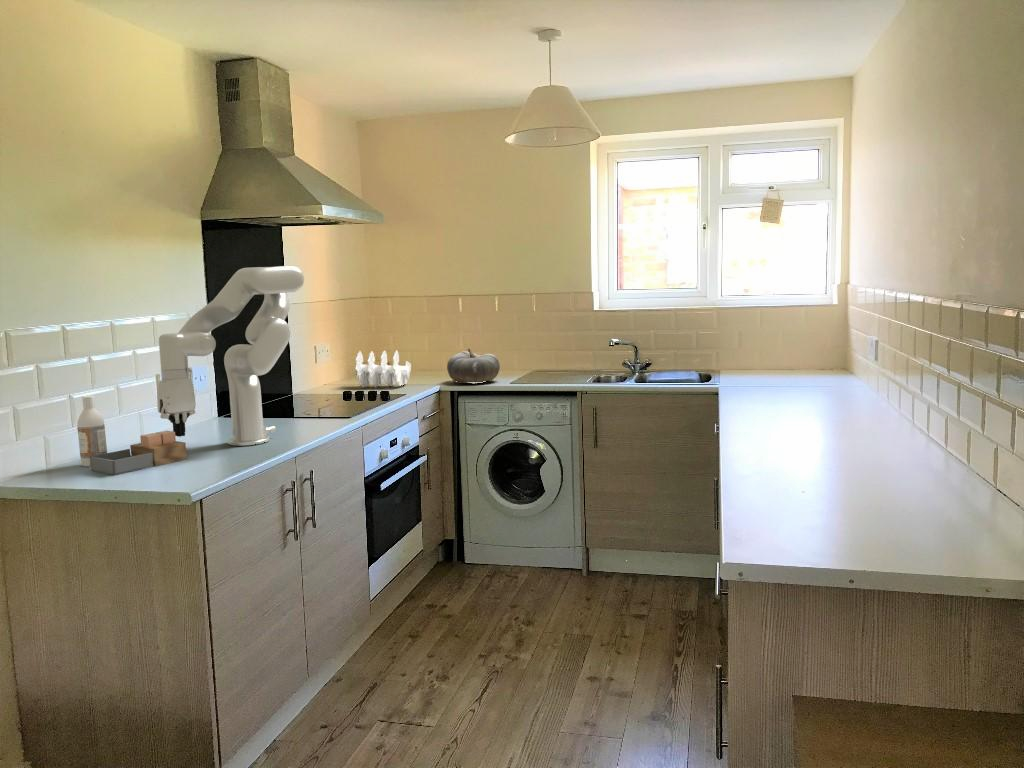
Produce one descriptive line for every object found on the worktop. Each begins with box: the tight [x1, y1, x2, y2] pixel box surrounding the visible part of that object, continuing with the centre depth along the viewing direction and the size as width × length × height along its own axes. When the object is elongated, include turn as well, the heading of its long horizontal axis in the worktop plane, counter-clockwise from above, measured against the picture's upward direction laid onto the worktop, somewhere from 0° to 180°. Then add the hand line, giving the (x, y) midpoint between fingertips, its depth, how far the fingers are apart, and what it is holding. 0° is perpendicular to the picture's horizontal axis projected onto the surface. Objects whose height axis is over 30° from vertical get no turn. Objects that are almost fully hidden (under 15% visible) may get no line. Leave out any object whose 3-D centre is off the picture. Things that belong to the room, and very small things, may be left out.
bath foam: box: [76, 395, 108, 468], centre depth 232 cm, size 7×7×20 cm
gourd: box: [446, 348, 501, 383], centre depth 390 cm, size 25×25×17 cm
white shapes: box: [354, 349, 412, 389], centre depth 383 cm, size 18×18×25 cm
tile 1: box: [154, 430, 177, 444], centre depth 236 cm, size 4×4×3 cm
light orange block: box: [139, 432, 162, 447], centre depth 233 cm, size 4×4×3 cm
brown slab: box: [129, 440, 188, 467], centre depth 235 cm, size 10×12×5 cm
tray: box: [90, 448, 155, 476], centre depth 226 cm, size 12×12×4 cm
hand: (179, 435), depth 240 cm, fingers closed
